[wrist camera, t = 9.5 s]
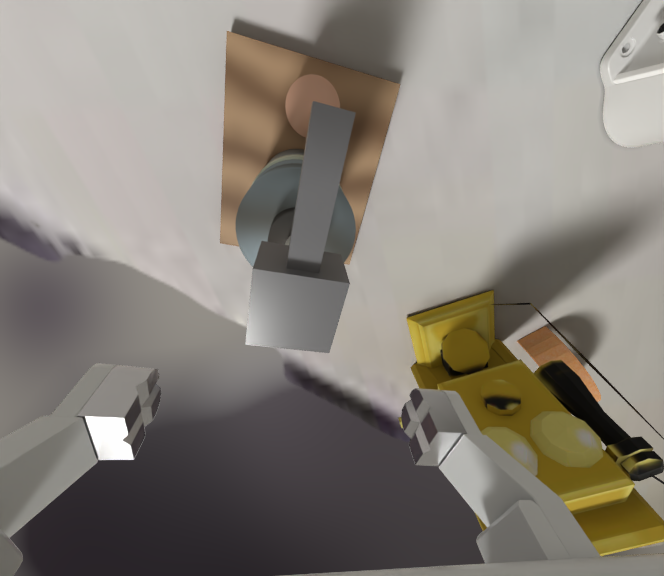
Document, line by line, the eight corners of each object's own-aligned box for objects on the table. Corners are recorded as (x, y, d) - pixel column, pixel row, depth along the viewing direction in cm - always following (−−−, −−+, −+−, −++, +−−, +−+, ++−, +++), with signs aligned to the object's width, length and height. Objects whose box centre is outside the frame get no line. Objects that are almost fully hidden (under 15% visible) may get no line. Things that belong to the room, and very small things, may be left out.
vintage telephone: (547, 270, 47) (841, 451, 22) (541, 330, 54) (757, 519, 29) (368, 328, 50) (441, 550, 24) (385, 378, 57) (455, 589, 31)
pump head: (283, 101, 15) (270, 87, 8) (355, 121, 16) (397, 123, 9) (264, 267, 20) (245, 344, 13) (319, 275, 21) (329, 352, 14)
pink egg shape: (291, 75, 29) (289, 66, 24) (338, 89, 30) (345, 83, 25) (284, 129, 32) (281, 131, 26) (328, 140, 33) (333, 144, 27)
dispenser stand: (230, 34, 28) (130, -86, 12) (396, 85, 32) (502, 49, 15) (222, 239, 39) (164, 329, 22) (347, 260, 42) (378, 351, 26)
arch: (545, 324, 54) (592, 363, 45) (566, 378, 63) (608, 419, 55) (516, 340, 55) (556, 380, 47) (541, 390, 64) (578, 431, 56)
